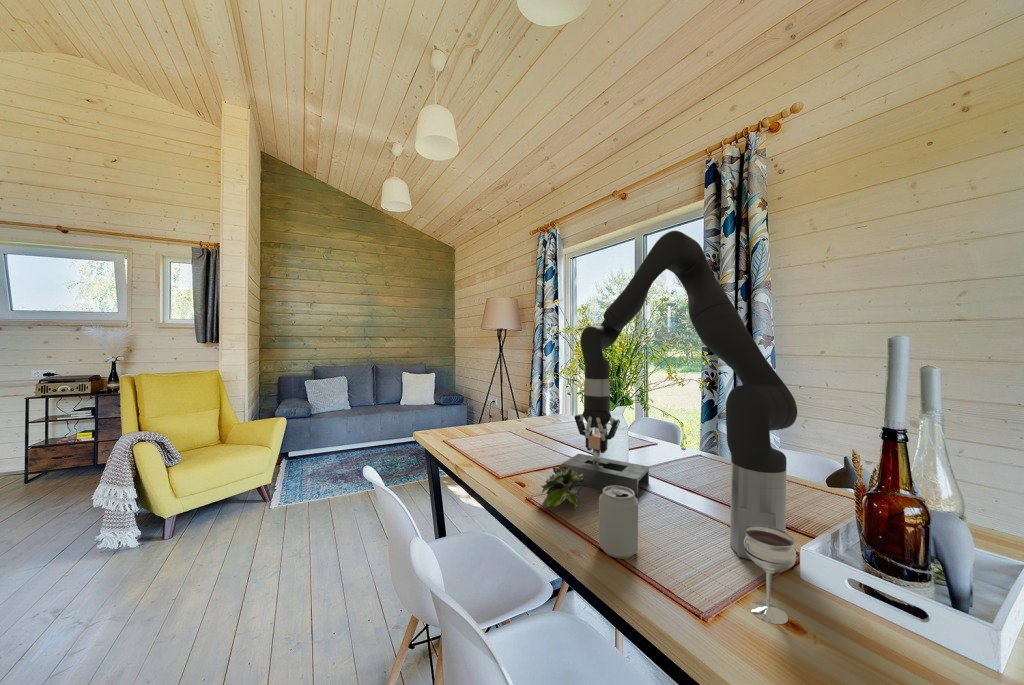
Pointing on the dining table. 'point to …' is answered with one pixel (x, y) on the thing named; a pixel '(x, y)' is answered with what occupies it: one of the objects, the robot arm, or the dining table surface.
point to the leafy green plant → (562, 486)
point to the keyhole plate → (609, 472)
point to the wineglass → (769, 564)
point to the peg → (595, 447)
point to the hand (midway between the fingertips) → (596, 450)
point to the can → (618, 522)
